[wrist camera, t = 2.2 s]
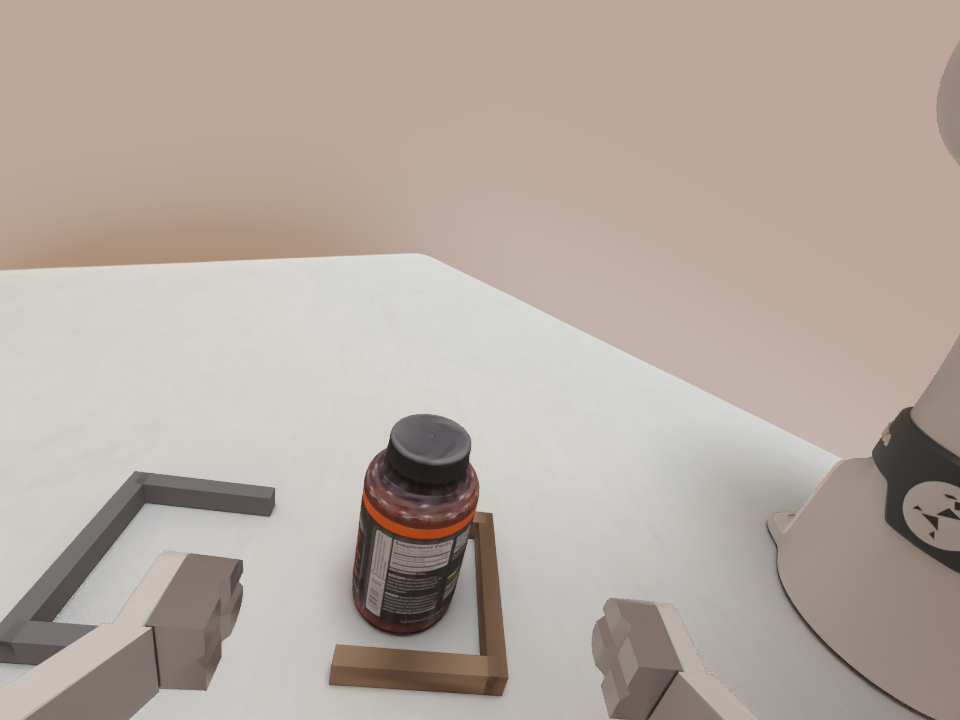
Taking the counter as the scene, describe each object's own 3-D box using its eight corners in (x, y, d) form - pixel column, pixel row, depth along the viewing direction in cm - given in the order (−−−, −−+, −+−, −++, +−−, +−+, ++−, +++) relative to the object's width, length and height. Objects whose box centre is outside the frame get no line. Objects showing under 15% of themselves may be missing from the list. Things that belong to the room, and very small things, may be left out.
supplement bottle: (365, 542, 31) (385, 391, 26) (456, 558, 32) (493, 413, 27) (336, 629, 26) (355, 460, 21) (446, 647, 26) (491, 486, 21)
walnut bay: (487, 529, 34) (492, 513, 34) (501, 695, 25) (508, 677, 24) (365, 515, 33) (368, 498, 33) (329, 684, 23) (331, 665, 23)
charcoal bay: (274, 505, 32) (275, 487, 32) (197, 675, 23) (195, 655, 22) (137, 489, 31) (134, 471, 31) (-7, 661, 21) (-16, 640, 21)
